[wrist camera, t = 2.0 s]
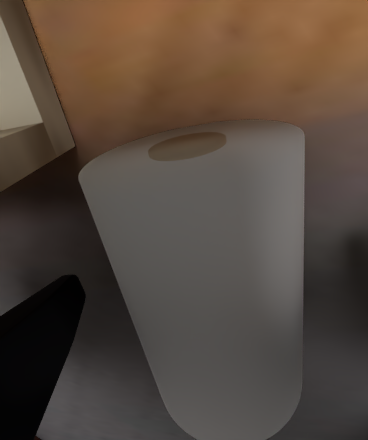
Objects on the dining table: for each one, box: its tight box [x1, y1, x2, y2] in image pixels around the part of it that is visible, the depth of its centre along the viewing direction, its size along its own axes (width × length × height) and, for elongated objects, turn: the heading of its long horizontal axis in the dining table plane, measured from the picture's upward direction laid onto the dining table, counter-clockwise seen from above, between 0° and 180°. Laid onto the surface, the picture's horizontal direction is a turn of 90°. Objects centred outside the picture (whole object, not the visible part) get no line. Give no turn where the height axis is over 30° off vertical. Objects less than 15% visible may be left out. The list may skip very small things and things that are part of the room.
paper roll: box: [78, 120, 305, 440], centre depth 9 cm, size 8×5×5 cm, turn 11°
